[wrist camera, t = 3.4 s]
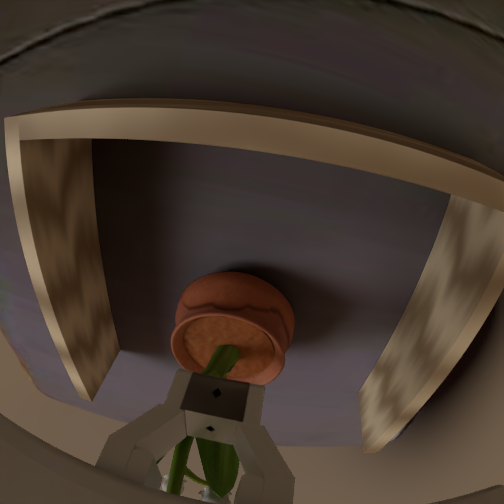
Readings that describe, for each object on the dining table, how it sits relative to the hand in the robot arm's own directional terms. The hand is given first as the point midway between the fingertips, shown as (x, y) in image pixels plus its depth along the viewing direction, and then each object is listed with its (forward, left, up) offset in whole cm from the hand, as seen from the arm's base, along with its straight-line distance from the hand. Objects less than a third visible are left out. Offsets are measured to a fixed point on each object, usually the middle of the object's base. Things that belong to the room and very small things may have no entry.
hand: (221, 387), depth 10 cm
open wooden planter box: (+5, 0, -15) cm, 16 cm away
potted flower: (+9, 0, -15) cm, 17 cm away
